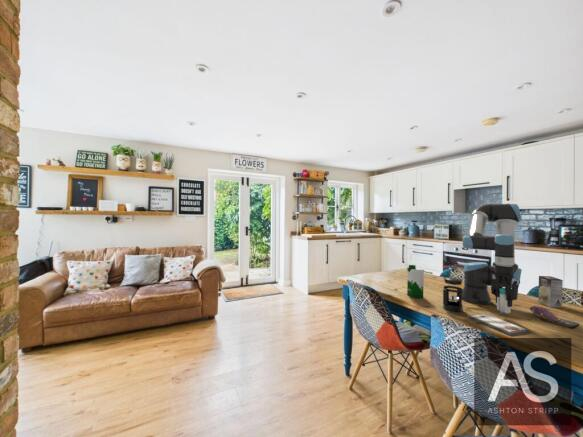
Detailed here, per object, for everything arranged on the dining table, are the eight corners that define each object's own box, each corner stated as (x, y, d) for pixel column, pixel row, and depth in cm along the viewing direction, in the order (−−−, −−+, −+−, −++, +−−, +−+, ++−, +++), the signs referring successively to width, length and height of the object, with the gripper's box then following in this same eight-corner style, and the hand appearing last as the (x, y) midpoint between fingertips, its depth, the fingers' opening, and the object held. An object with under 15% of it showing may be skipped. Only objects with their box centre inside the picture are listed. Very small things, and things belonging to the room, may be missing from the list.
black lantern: (451, 305, 145) (452, 265, 145) (468, 311, 136) (468, 269, 136) (436, 307, 141) (437, 267, 141) (452, 313, 132) (452, 270, 132)
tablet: (467, 317, 127) (467, 315, 127) (486, 315, 130) (486, 313, 130) (509, 335, 108) (509, 332, 108) (530, 332, 111) (530, 329, 111)
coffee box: (537, 301, 153) (537, 275, 153) (550, 302, 151) (550, 276, 151) (549, 307, 144) (550, 279, 144) (563, 307, 142) (563, 279, 142)
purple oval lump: (531, 317, 132) (526, 305, 132) (538, 313, 133) (533, 301, 132) (552, 325, 122) (547, 312, 122) (560, 321, 123) (554, 308, 122)
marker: (497, 313, 128) (497, 287, 128) (502, 312, 129) (502, 287, 129) (504, 315, 125) (504, 289, 125) (509, 315, 126) (510, 289, 125)
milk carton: (405, 294, 167) (405, 264, 167) (419, 294, 166) (419, 264, 166) (411, 298, 158) (411, 266, 158) (425, 298, 158) (426, 266, 158)
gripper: (482, 262, 133) (482, 306, 134) (516, 268, 118) (515, 318, 118) (493, 261, 135) (493, 304, 136) (528, 267, 119) (527, 316, 120)
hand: (503, 311), depth 127 cm, fingers closed on marker, 3 cm apart
